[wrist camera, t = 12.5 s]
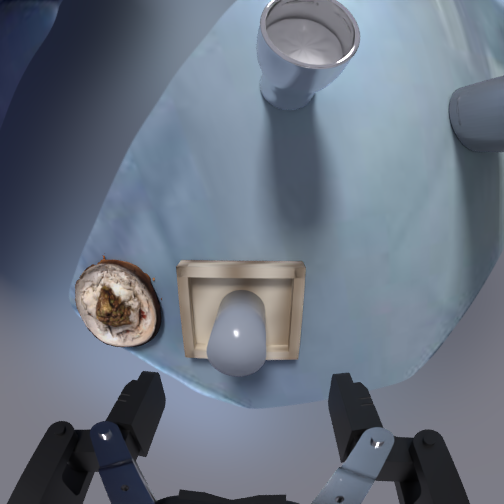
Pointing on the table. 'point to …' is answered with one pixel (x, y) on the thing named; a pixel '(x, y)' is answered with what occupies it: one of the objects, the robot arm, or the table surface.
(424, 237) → the table surface
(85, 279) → the stuffed round slice
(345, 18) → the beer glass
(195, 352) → the birch tray
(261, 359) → the grey rounded cylinder
